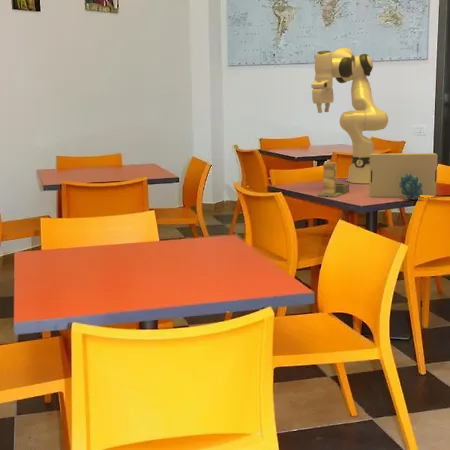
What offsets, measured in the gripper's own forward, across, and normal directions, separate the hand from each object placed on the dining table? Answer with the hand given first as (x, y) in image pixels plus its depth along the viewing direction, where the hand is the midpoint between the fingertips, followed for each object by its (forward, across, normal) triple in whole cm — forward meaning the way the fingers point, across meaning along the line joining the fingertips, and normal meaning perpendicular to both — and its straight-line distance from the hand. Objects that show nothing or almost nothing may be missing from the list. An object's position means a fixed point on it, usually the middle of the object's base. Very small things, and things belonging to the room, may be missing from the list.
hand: (323, 112), depth 337 cm
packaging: (+39, +5, +42) cm, 58 cm away
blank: (+38, +16, +10) cm, 43 cm away
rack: (+39, +6, +10) cm, 41 cm away
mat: (+39, +16, +10) cm, 44 cm away
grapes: (+39, +15, +48) cm, 64 cm away
